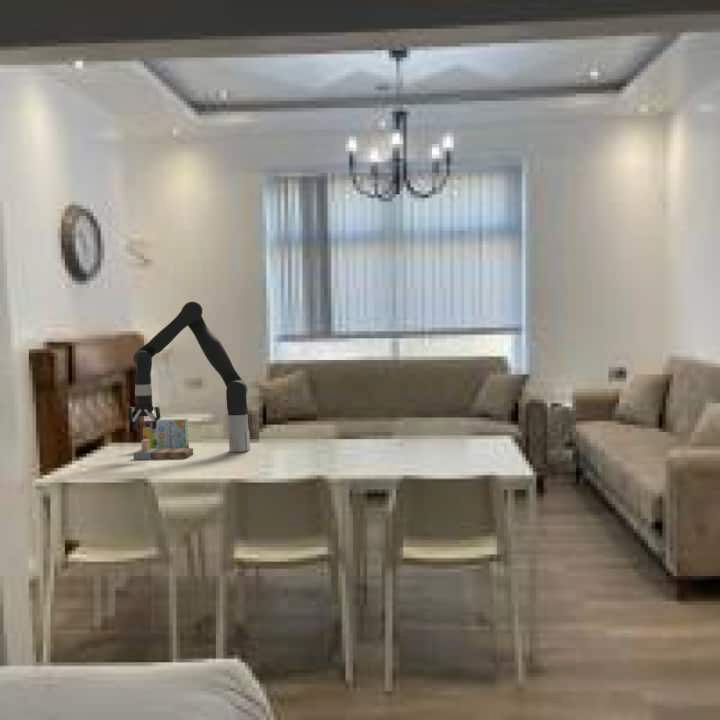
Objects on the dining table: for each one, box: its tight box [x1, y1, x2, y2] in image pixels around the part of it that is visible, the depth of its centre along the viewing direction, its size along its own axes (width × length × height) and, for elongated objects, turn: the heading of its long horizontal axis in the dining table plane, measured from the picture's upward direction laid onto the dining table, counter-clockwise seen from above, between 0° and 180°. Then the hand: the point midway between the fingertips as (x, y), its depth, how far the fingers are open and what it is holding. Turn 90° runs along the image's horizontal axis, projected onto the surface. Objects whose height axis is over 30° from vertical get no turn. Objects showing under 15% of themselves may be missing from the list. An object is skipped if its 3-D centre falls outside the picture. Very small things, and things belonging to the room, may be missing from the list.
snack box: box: [142, 418, 190, 449], centre depth 442 cm, size 21×6×15 cm, turn 84°
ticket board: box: [151, 447, 194, 460], centre depth 420 cm, size 16×12×3 cm
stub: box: [132, 439, 158, 460], centre depth 421 cm, size 8×12×8 cm, turn 177°
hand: (144, 429), depth 421 cm, fingers open, 8 cm apart
